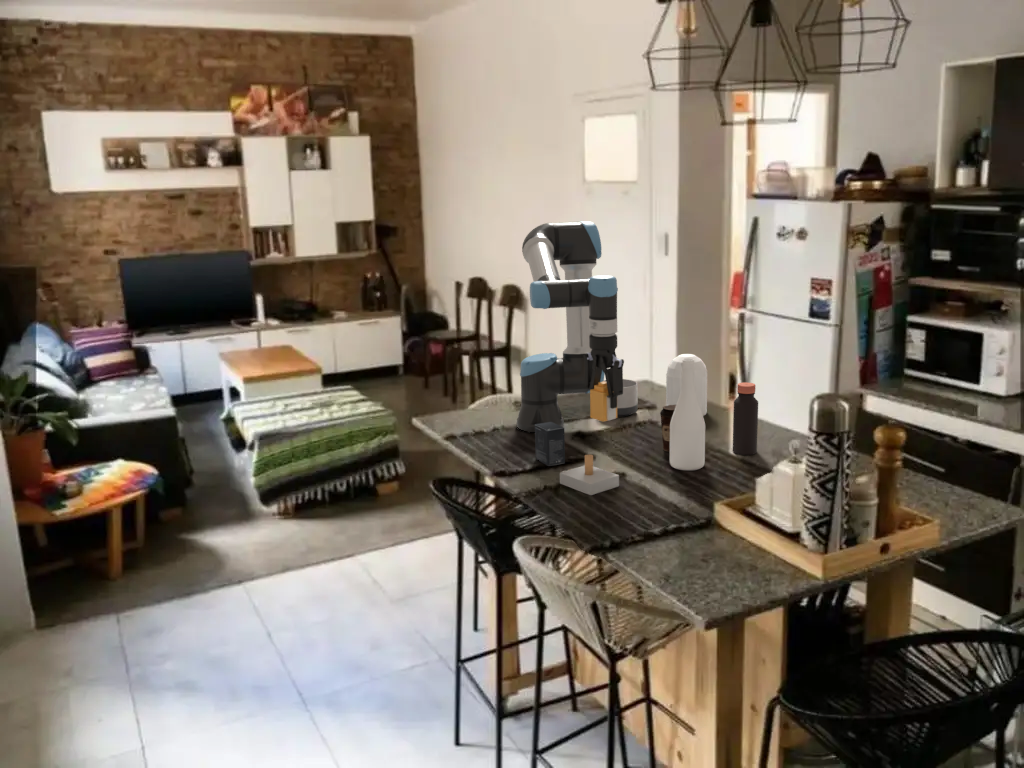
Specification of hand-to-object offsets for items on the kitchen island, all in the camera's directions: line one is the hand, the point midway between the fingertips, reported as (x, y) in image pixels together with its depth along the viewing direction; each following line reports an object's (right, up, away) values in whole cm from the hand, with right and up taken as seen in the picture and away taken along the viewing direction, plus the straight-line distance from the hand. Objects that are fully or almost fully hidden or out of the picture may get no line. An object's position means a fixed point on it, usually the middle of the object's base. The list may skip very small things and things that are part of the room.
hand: (603, 416), depth 248 cm
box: (-14, -13, +9) cm, 22 cm away
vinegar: (+42, -11, +11) cm, 44 cm away
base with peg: (-6, -17, -10) cm, 21 cm away
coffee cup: (+22, -10, +15) cm, 29 cm away
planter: (+11, -1, +56) cm, 57 cm away
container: (+33, -1, +54) cm, 63 cm away
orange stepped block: (0, 0, 0) cm, 0 cm away
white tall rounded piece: (+23, -14, +1) cm, 27 cm away
